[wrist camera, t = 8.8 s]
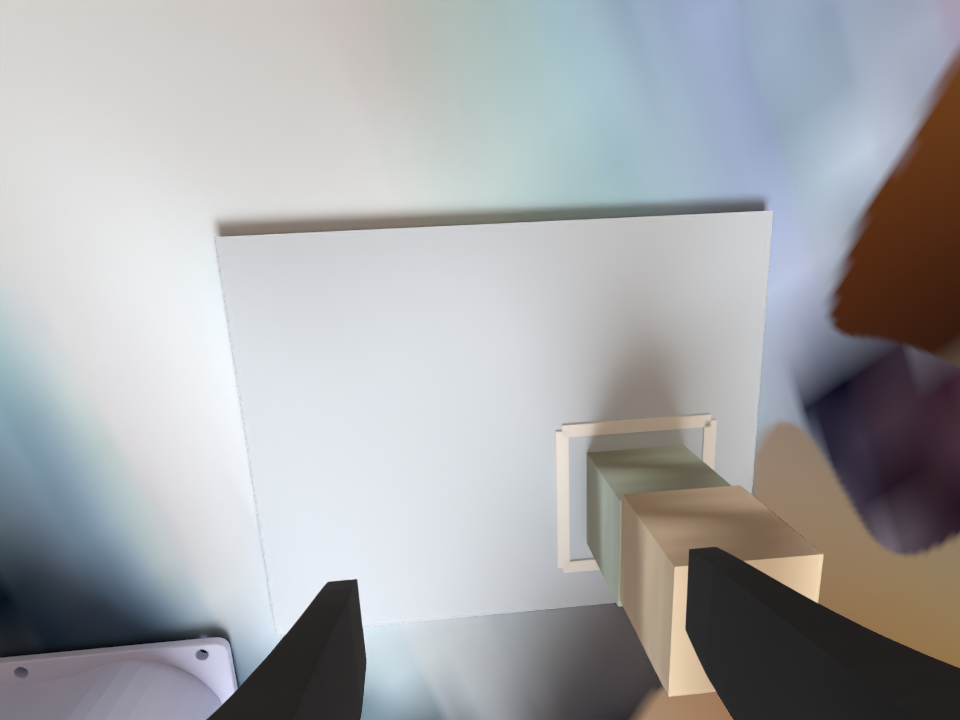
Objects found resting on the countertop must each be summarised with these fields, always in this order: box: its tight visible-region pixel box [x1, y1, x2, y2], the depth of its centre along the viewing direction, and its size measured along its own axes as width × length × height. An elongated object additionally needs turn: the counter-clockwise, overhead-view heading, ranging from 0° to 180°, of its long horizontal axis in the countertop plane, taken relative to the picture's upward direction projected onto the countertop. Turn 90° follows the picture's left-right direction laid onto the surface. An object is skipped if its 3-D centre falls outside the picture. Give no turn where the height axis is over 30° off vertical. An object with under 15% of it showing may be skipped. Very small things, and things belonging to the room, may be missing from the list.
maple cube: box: [620, 485, 824, 697], centre depth 17 cm, size 4×4×4 cm
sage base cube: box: [587, 445, 731, 607], centre depth 20 cm, size 4×4×4 cm
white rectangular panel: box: [215, 211, 773, 636], centre depth 22 cm, size 20×16×1 cm
